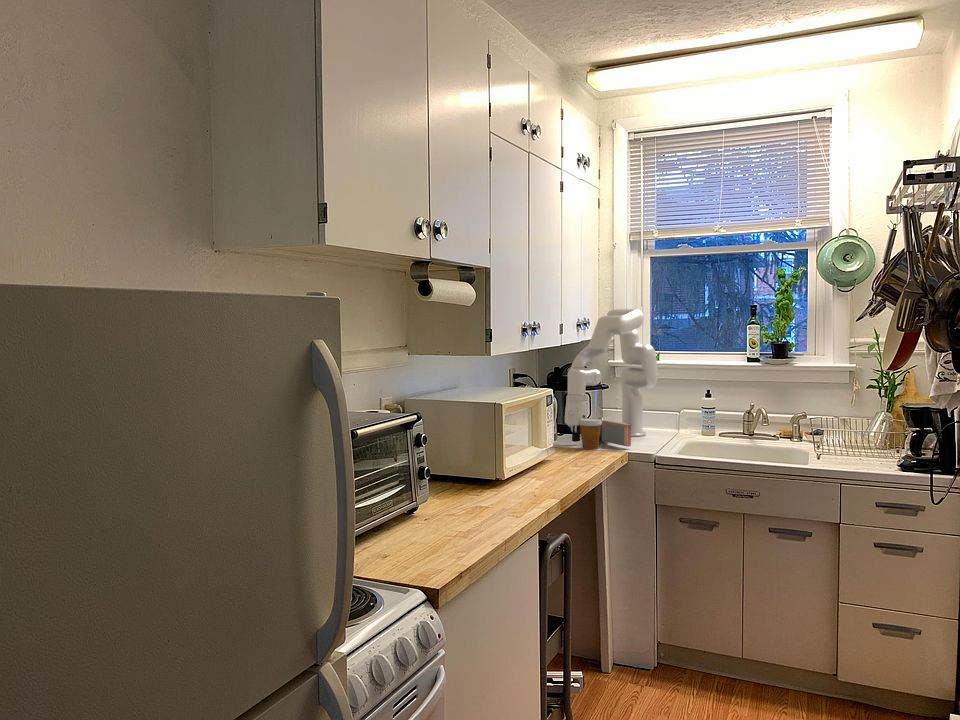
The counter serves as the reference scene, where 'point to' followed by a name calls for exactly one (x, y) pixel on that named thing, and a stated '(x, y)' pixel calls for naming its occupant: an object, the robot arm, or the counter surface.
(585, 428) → the disposable coffee cup
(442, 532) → the counter surface
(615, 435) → the bar
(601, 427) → the hinge post
